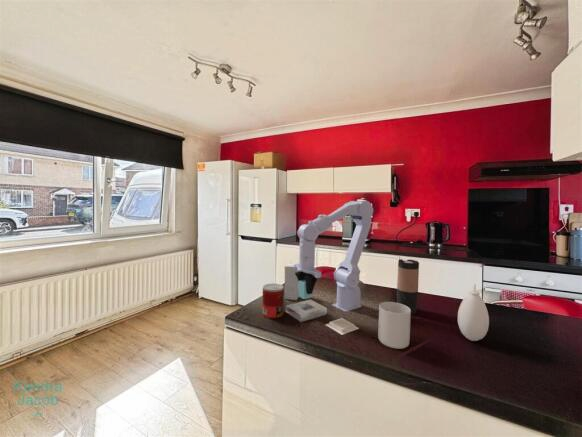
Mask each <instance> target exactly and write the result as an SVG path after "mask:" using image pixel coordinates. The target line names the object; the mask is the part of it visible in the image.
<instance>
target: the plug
mask: <svg viewBox="0 0 582 437" xmlns="http://www.w3.org/2000/svg"><path fill="white" fill-rule="evenodd" d="M312 295H313V293H312V294H307V291H306V282H305V280H300V281H299V297H298V298H301V299H303V300H308V299H310V298H312Z"/></svg>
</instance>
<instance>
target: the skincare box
mask: <svg viewBox="0 0 582 437" xmlns="http://www.w3.org/2000/svg"><path fill="white" fill-rule="evenodd" d="M294 264H299V263H298V262H289V263H288V264H286V265H285V266H284V300H289V301H298V299H299V298H300V297H299V282H298V279H297V277H296V275H295V272H298V271H297V269H296V270H295V269H294Z"/></svg>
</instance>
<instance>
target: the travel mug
mask: <svg viewBox="0 0 582 437" xmlns="http://www.w3.org/2000/svg"><path fill="white" fill-rule="evenodd" d="M397 262H398V263H397V280H396V281H397V283H396V285H397V286H396V303H400V304H403V305H405V306H407V307H409V308H410V310H411V315H414V314H416V313H417V310H418V295H419V277H420V276H419V275H420V274H419V273H420V262H419V261H418V260H414V259H407V260H404V259H398V261H397Z"/></svg>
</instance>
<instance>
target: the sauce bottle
mask: <svg viewBox="0 0 582 437" xmlns="http://www.w3.org/2000/svg"><path fill="white" fill-rule="evenodd" d="M457 324H458V329H459V330H460V332H461V334H462V335H463V336H464V337H465V338H466V339H468V341H471V342H476V341H477V342H478V341H479V340H482V339H484V337H485V336H487V332H489V326H490V317H489V311H488V308H487V306H486V303H485V302H484V300H483V298H482V297H481V296H480V292H479V291H477V290H476V283H474V284H473V290H470V291H469V292H468V293H467V295H465V296H464V297H463V300H462V301H461V302H460V305H459V307H458V311H457Z"/></svg>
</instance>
